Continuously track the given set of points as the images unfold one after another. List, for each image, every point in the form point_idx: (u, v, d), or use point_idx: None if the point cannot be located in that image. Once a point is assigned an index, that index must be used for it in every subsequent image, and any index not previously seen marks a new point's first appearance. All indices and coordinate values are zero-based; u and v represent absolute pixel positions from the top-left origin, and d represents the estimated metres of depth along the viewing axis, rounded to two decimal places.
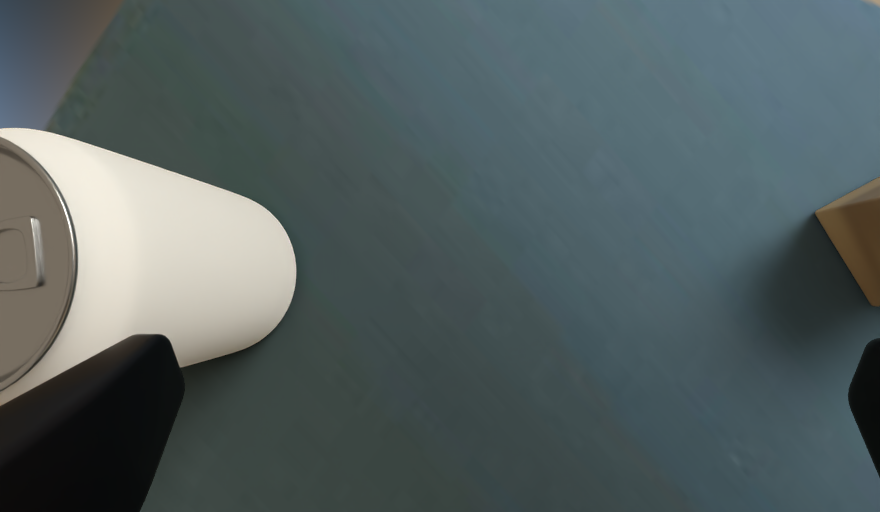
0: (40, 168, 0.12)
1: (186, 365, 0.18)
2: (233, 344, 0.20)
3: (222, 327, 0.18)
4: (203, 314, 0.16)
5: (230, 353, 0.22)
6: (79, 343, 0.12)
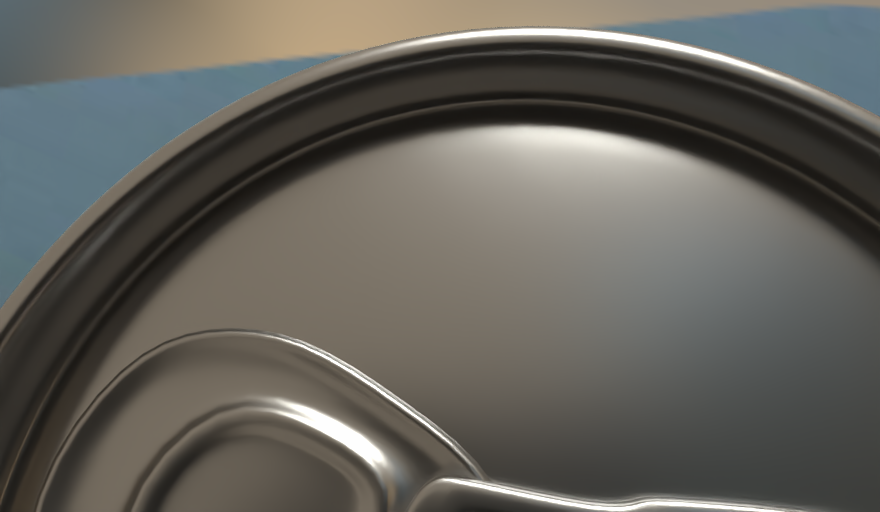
0: None
1: None
2: None
3: None
4: None
5: None
6: None
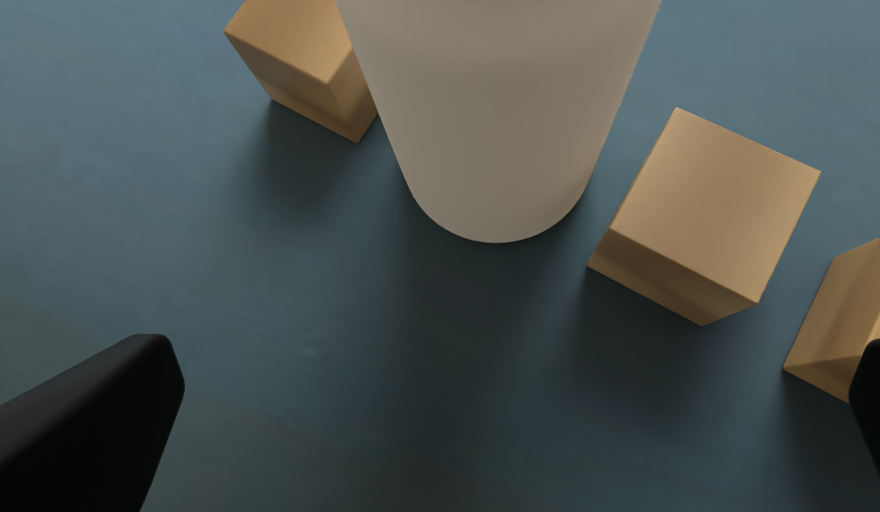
0: None
1: (501, 196, 0.15)
2: (539, 206, 0.16)
3: (581, 156, 0.14)
4: (611, 104, 0.12)
5: (495, 235, 0.18)
6: None
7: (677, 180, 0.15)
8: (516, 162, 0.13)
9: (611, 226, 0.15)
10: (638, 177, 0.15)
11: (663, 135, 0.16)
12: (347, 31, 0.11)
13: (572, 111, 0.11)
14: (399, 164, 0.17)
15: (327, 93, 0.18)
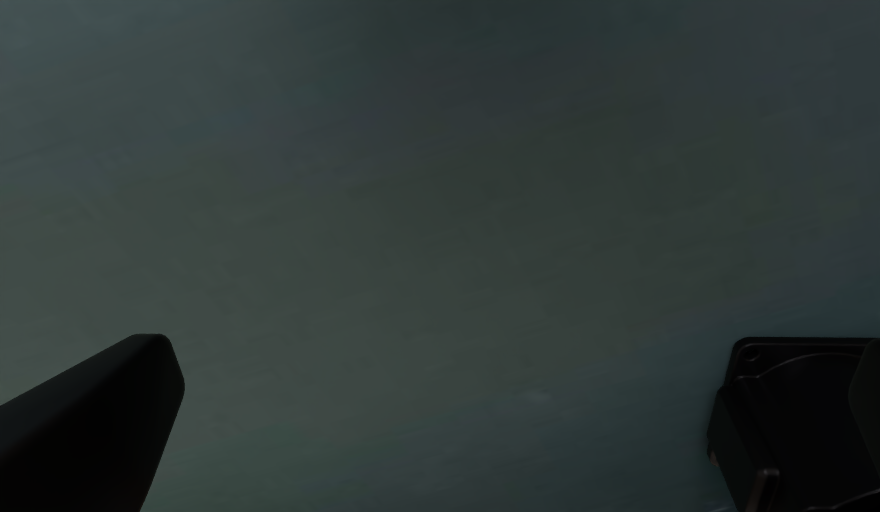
0: None
1: None
2: None
3: None
4: None
5: None
6: None
7: None
8: None
9: None
10: None
11: None
12: None
13: None
14: None
15: None
